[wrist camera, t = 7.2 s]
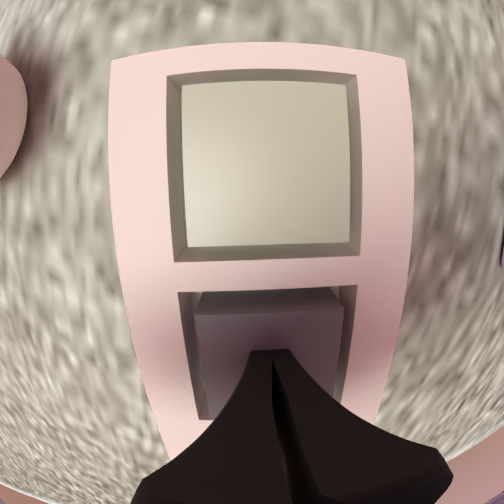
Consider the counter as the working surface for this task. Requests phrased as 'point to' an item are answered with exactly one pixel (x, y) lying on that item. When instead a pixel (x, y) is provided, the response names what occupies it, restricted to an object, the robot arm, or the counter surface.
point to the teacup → (11, 112)
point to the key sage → (265, 163)
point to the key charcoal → (266, 334)
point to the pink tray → (265, 255)
